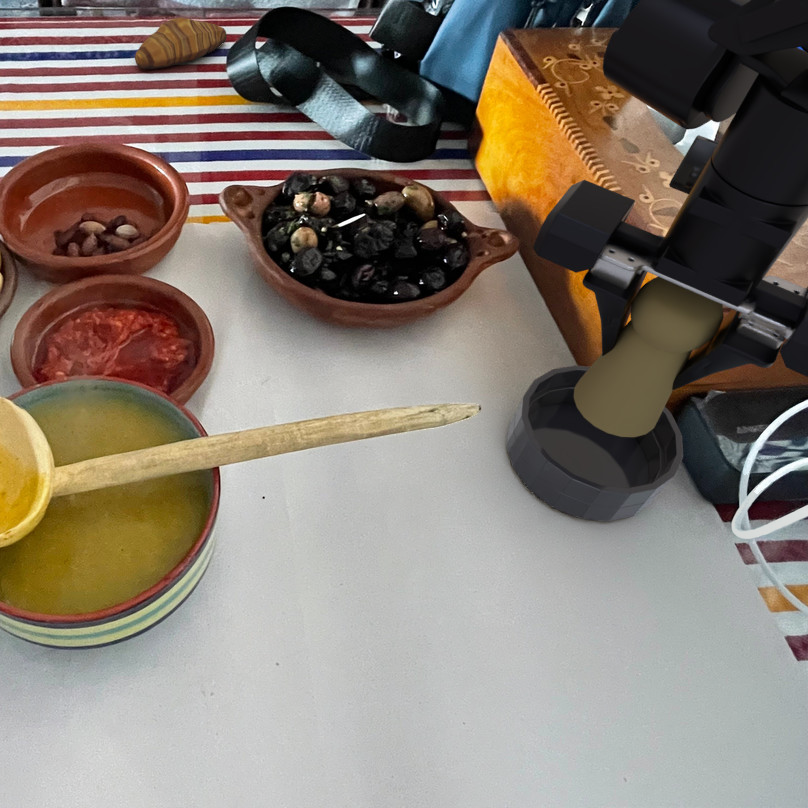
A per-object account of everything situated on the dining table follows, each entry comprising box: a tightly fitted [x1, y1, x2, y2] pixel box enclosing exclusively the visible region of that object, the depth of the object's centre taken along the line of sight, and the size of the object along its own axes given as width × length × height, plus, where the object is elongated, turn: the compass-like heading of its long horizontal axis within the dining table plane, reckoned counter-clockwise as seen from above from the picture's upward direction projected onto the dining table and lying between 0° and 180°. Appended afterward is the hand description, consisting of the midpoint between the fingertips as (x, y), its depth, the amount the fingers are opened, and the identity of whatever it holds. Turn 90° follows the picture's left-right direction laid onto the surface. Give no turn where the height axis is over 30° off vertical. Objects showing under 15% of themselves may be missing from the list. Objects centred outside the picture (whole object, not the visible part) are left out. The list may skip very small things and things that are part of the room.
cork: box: [574, 276, 725, 437], centre depth 51 cm, size 6×6×11 cm
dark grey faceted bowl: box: [505, 364, 684, 522], centre depth 60 cm, size 12×12×4 cm
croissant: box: [134, 17, 228, 70], centre depth 96 cm, size 14×7×5 cm, turn 129°
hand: (639, 369), depth 52 cm, fingers closed on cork, 4 cm apart
